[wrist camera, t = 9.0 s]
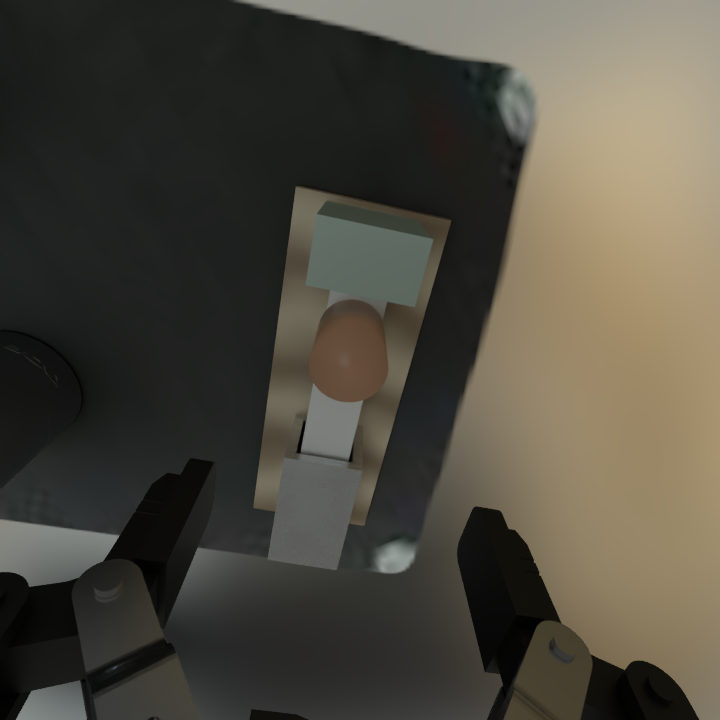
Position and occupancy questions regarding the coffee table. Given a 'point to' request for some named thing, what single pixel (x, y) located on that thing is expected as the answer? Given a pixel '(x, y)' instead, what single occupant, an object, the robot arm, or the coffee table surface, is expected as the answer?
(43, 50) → the coffee table surface
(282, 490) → the aluminium sleeve
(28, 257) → the coffee table surface
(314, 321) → the oak base
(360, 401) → the tube
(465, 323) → the coffee table surface
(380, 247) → the sage socket
